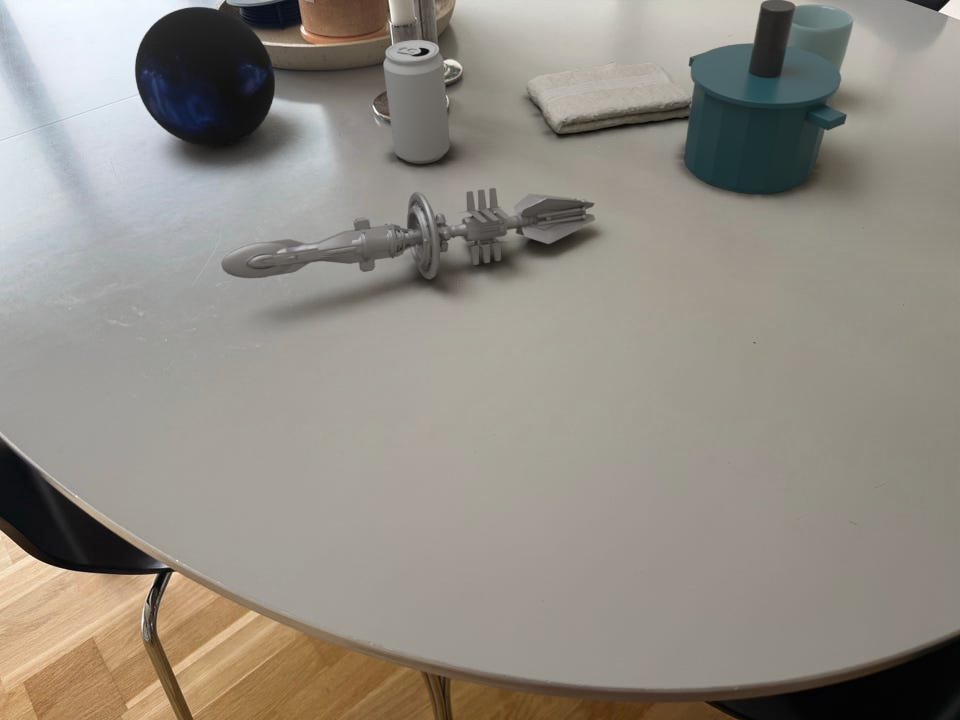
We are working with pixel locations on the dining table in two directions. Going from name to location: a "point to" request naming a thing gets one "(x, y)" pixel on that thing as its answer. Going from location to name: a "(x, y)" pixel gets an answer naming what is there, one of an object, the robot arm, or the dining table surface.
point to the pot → (755, 143)
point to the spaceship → (418, 236)
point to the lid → (767, 67)
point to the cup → (821, 32)
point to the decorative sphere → (204, 76)
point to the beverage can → (417, 101)
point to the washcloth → (608, 96)
